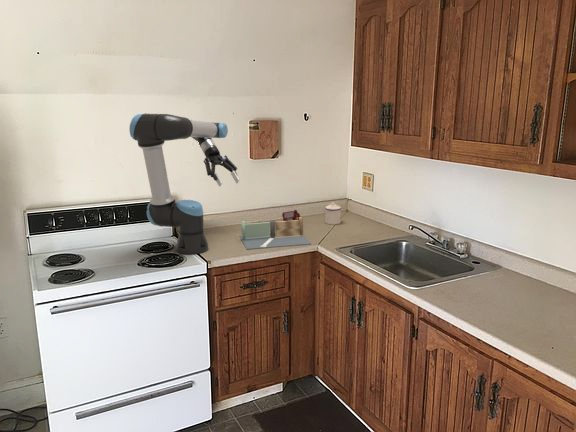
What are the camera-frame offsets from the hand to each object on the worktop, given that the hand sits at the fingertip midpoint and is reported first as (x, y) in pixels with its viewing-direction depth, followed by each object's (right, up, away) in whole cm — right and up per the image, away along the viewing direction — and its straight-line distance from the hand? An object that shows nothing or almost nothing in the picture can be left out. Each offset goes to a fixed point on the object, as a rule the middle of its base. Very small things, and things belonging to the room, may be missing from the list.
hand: (229, 183), depth 259 cm
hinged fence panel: (+14, -28, -3) cm, 31 cm away
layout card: (+23, -29, -5) cm, 38 cm away
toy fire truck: (+32, -24, +15) cm, 43 cm away
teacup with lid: (+55, -21, +29) cm, 65 cm away
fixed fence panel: (+29, -28, +1) cm, 40 cm away
